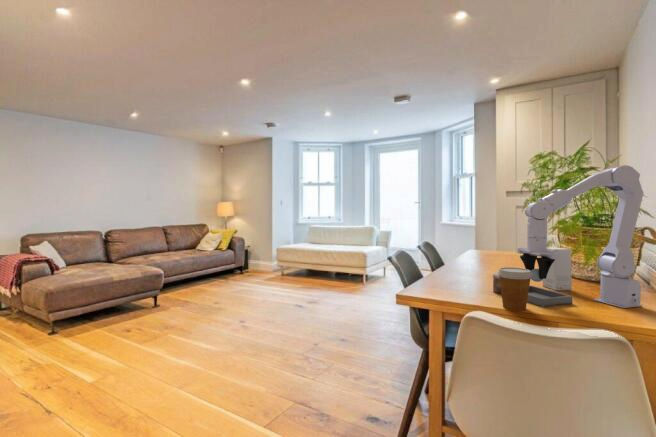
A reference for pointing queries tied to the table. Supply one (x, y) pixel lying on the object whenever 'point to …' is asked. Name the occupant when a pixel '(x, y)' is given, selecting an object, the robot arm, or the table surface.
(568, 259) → the skincare box
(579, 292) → the table surface
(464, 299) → the table surface
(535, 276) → the ball
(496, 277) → the shaker
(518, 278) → the disposable coffee cup
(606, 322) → the table surface
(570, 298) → the tray
